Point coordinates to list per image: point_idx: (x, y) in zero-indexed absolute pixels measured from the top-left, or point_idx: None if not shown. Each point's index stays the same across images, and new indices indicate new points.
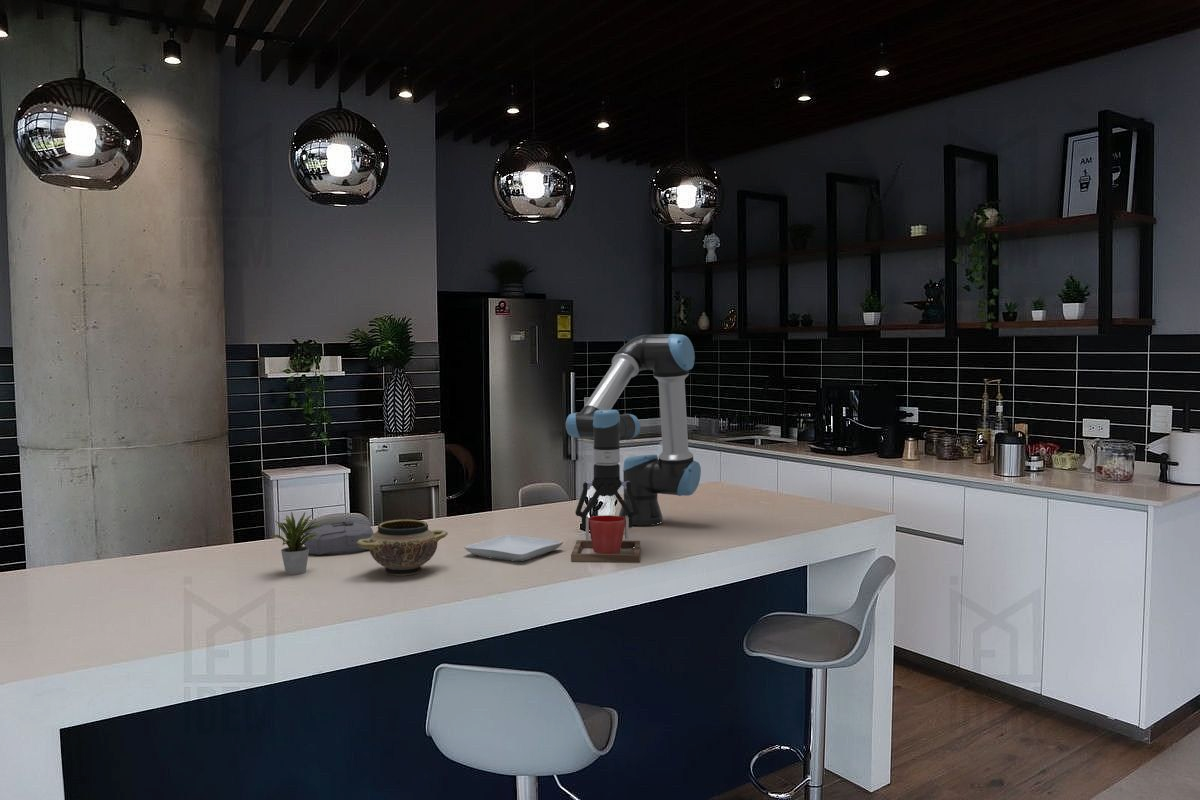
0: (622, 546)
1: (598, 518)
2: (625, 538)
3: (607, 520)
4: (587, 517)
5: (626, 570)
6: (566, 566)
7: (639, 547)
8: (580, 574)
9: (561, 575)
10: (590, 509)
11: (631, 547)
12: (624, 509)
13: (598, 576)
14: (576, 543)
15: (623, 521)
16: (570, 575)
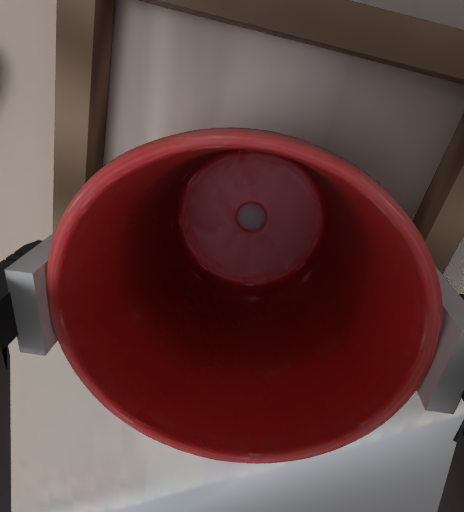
0: (396, 64)
1: (170, 160)
2: None
3: (280, 155)
4: (30, 321)
5: (271, 463)
6: (55, 375)
7: (444, 266)
8: (109, 467)
9: (48, 463)
10: (9, 428)
11: (455, 81)
12: (448, 485)
13: (165, 495)
14: (62, 63)
15: (371, 423)
16: (77, 469)
